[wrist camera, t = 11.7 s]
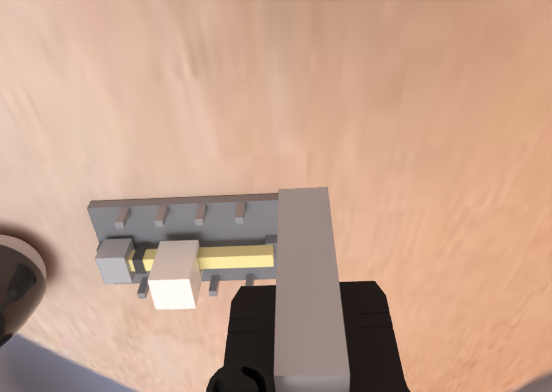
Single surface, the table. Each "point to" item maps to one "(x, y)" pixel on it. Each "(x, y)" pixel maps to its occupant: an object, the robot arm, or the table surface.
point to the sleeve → (175, 275)
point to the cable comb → (188, 236)
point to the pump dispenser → (19, 285)
